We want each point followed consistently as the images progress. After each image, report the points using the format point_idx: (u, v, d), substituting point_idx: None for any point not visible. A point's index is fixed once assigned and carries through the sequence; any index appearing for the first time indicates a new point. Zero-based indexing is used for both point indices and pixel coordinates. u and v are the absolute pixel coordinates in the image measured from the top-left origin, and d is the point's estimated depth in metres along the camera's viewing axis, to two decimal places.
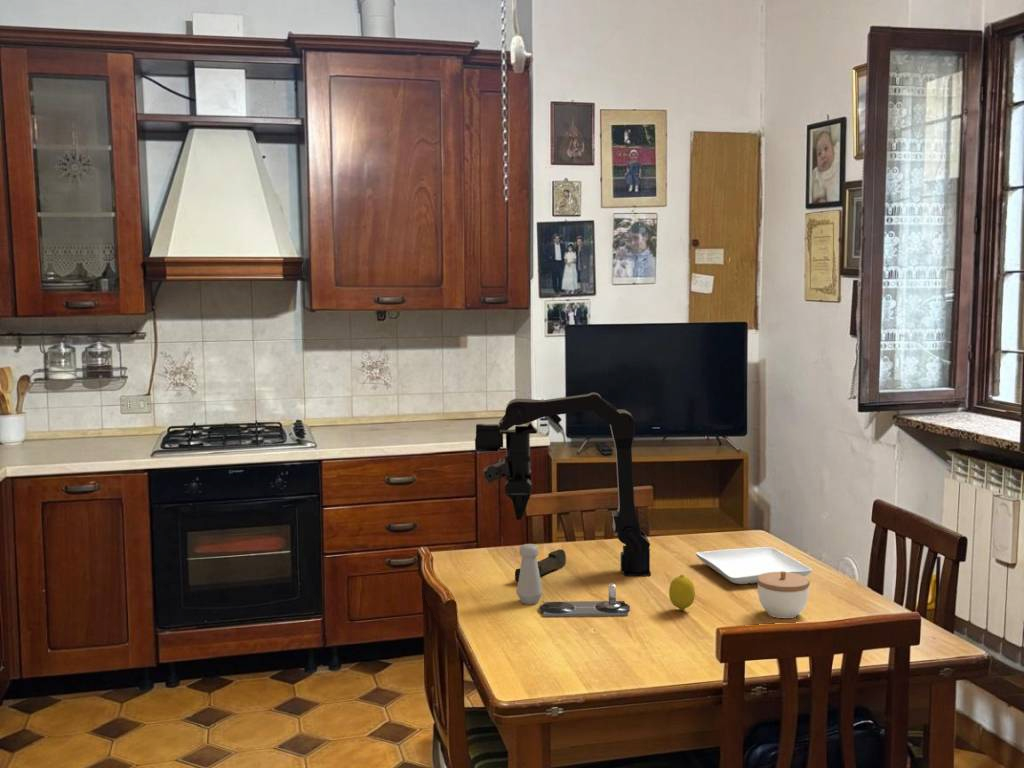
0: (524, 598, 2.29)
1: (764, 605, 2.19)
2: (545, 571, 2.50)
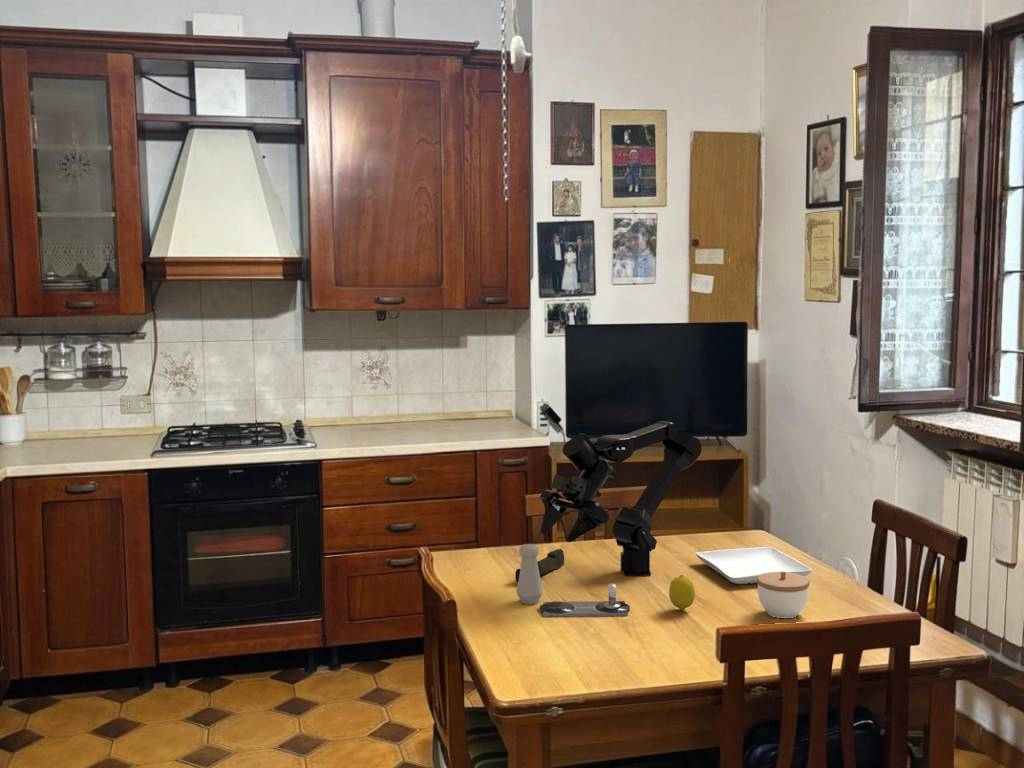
0: (524, 598, 2.29)
1: (764, 605, 2.19)
2: (545, 571, 2.50)
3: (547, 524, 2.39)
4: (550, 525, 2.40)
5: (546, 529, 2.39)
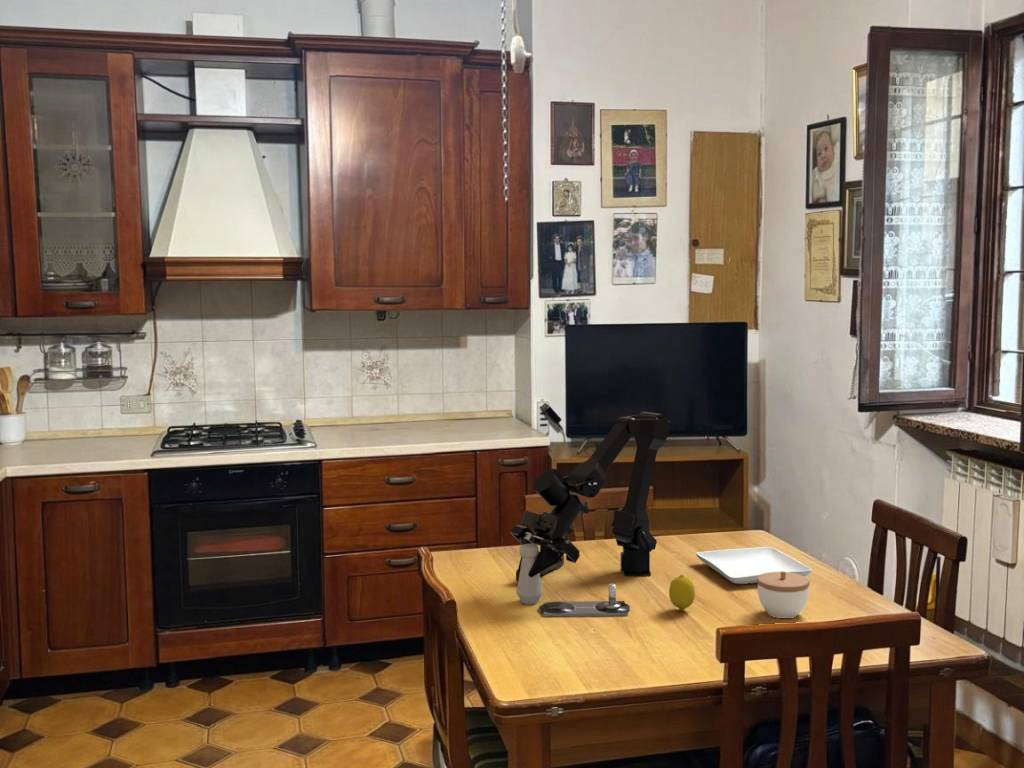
0: (524, 598, 2.29)
1: (764, 605, 2.19)
2: (545, 571, 2.50)
3: None
4: None
5: None
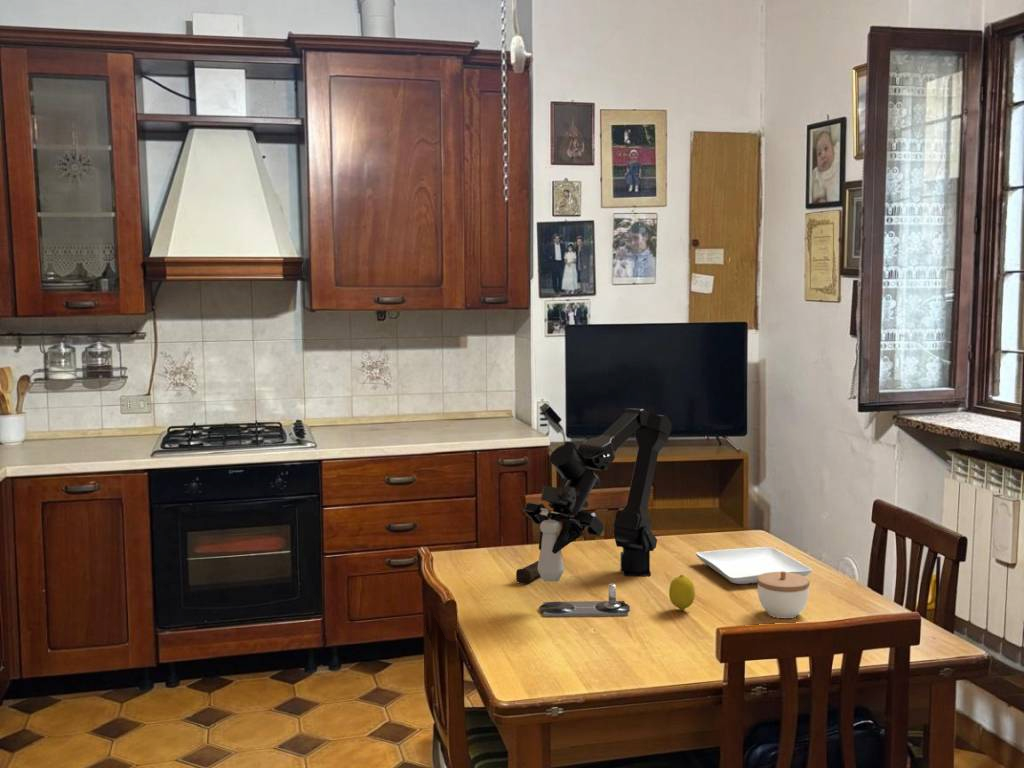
0: (548, 575, 2.23)
1: (764, 605, 2.19)
2: None
3: None
4: None
5: None
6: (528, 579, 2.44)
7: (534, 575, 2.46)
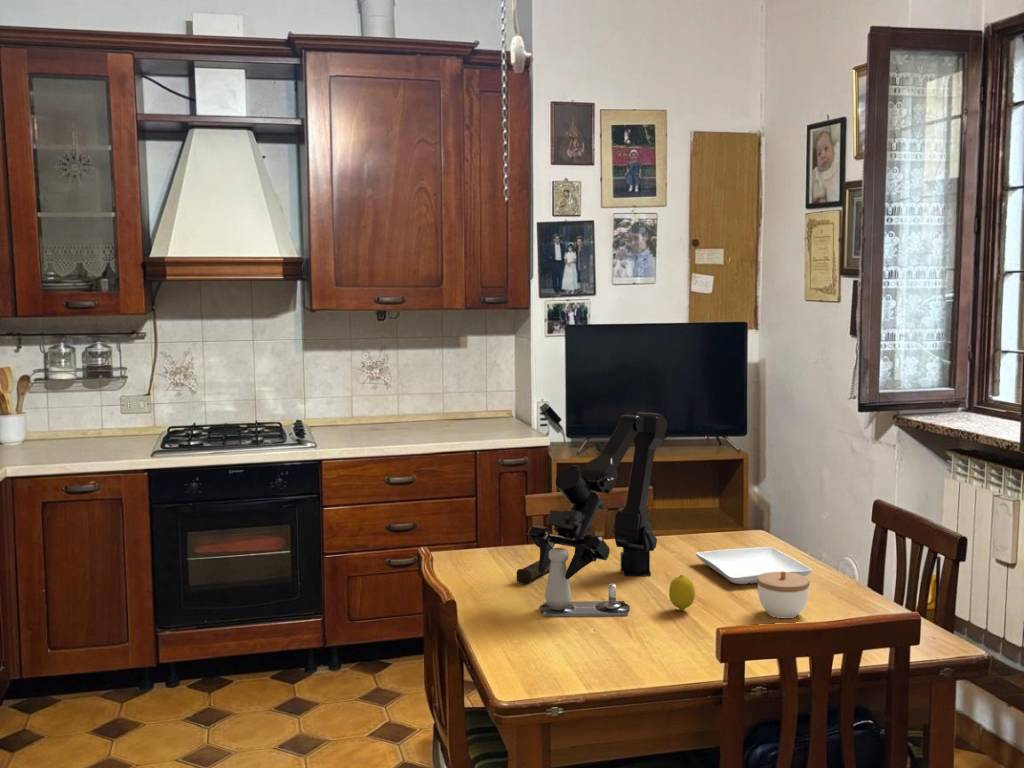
0: (556, 603, 2.23)
1: (764, 605, 2.19)
2: (545, 571, 2.50)
3: (544, 563, 2.27)
4: (547, 564, 2.28)
5: (544, 568, 2.26)
6: (529, 579, 2.44)
7: (534, 575, 2.46)
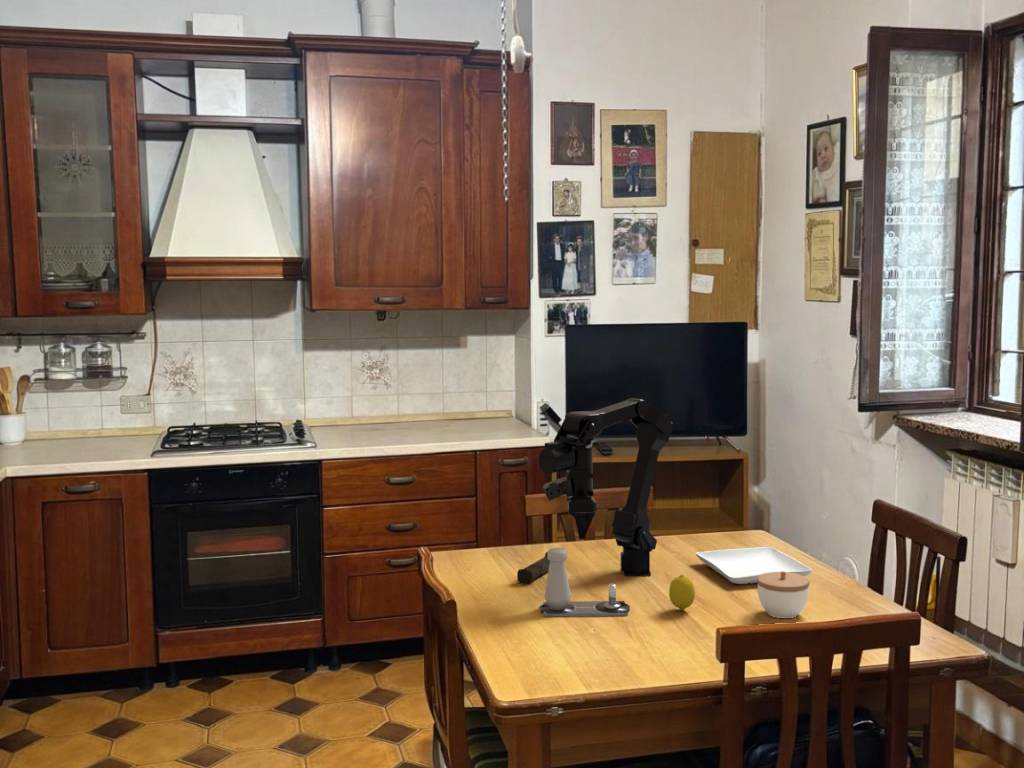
0: (556, 603, 2.23)
1: (764, 605, 2.19)
2: (545, 571, 2.50)
3: None
4: None
5: None
6: (530, 579, 2.44)
7: (535, 575, 2.46)
